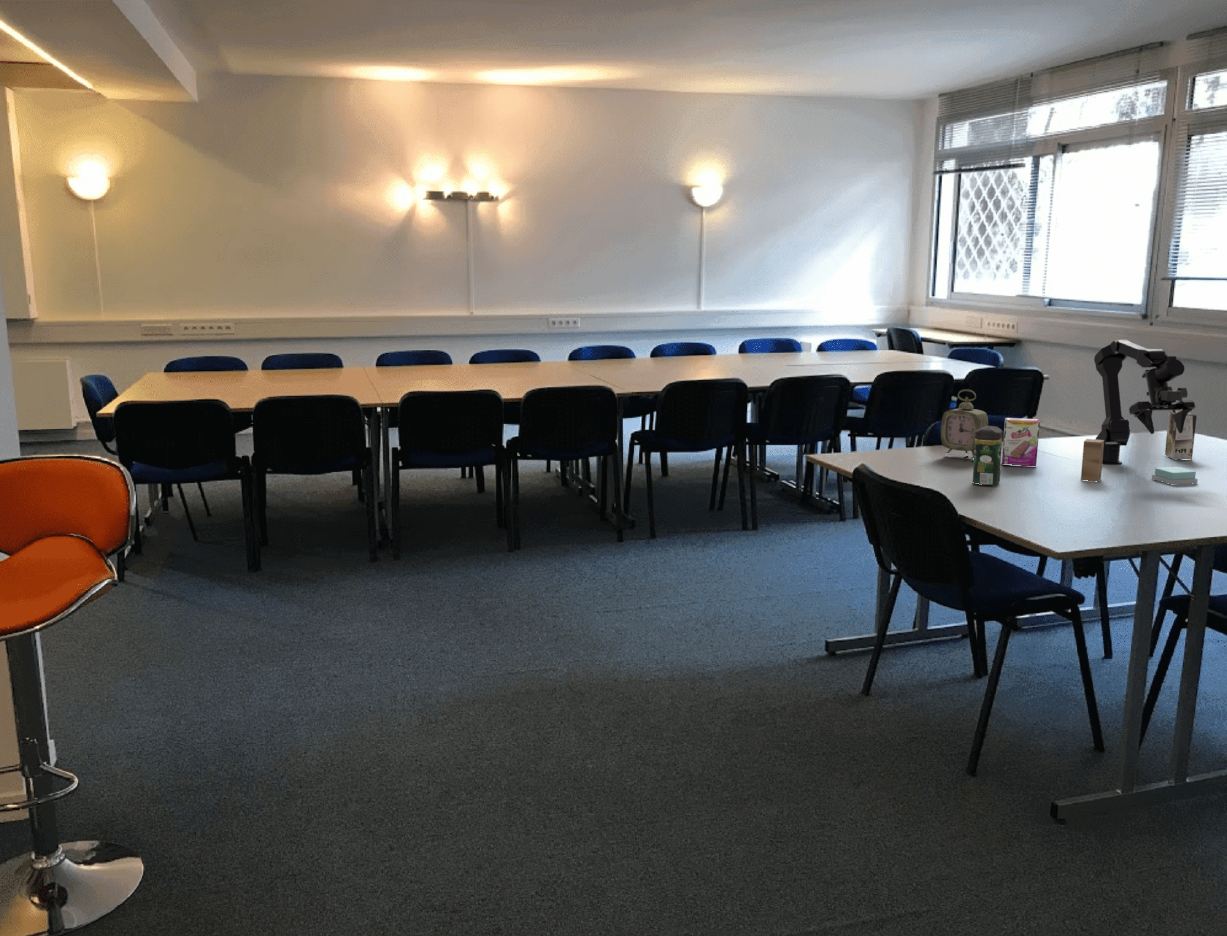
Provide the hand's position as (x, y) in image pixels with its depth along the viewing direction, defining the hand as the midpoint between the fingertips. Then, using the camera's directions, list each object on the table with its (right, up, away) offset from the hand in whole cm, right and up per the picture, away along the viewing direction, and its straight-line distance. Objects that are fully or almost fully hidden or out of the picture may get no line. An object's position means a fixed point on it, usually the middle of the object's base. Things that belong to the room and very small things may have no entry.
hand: (1166, 433), depth 309 cm
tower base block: (+4, -16, +2) cm, 16 cm away
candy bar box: (-34, -10, +30) cm, 47 cm away
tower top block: (+3, -14, +2) cm, 14 cm away
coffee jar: (-56, -16, +4) cm, 58 cm away
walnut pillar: (-21, -15, +6) cm, 27 cm away
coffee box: (+26, -8, +38) cm, 47 cm away
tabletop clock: (-48, -8, +45) cm, 66 cm away
